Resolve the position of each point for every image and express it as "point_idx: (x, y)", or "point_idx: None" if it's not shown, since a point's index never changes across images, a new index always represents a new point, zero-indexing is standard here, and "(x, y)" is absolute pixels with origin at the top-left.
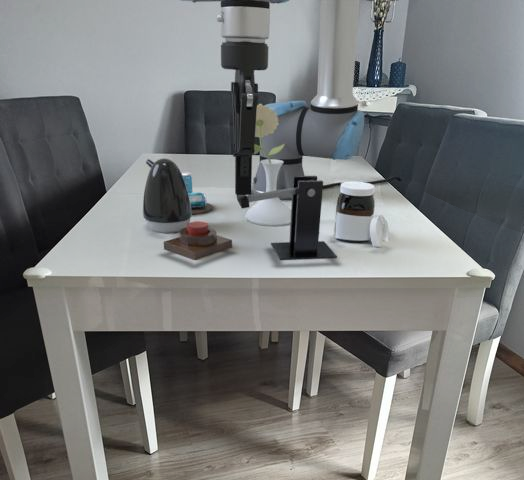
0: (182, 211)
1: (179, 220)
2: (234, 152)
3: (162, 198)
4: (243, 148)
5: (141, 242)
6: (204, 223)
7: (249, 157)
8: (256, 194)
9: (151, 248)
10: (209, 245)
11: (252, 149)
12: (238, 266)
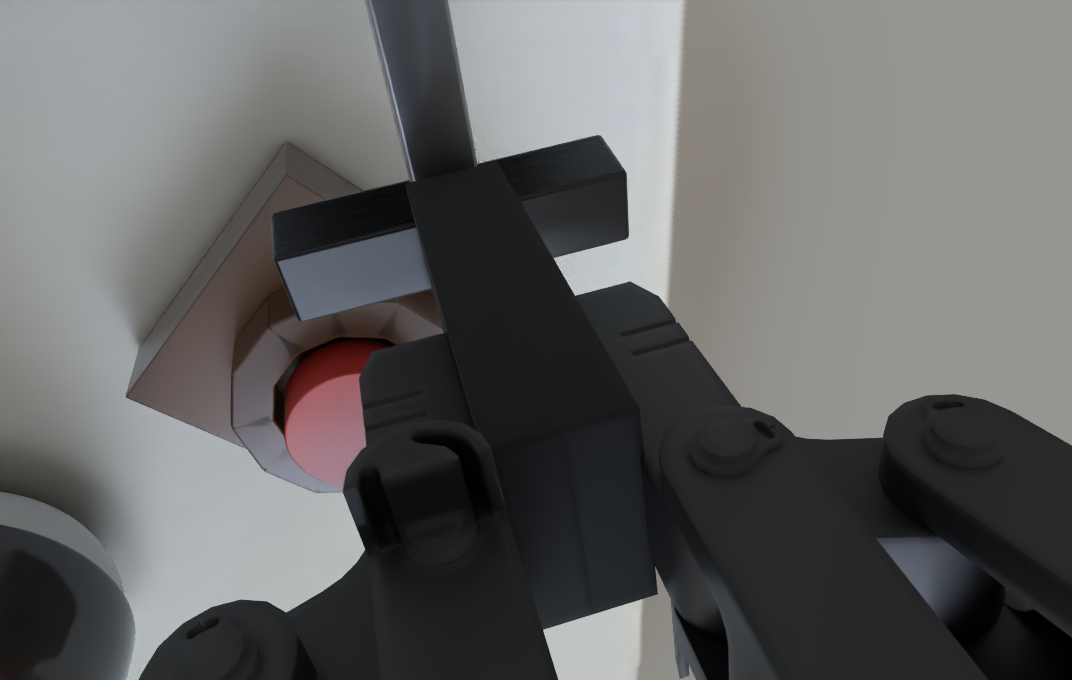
0: (26, 586)
1: (69, 553)
2: (685, 662)
3: None
4: (1007, 598)
5: (222, 601)
6: (327, 400)
7: (633, 432)
8: (426, 102)
9: (302, 540)
10: (432, 293)
11: (1054, 467)
12: (520, 77)
